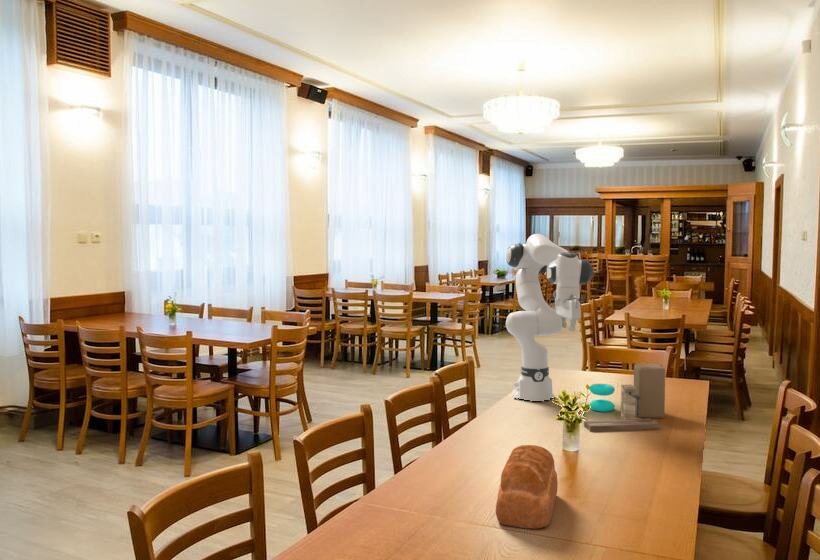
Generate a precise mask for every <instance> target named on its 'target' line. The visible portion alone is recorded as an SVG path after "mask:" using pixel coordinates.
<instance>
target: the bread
mask: <svg viewBox="0 0 820 560" xmlns="http://www.w3.org/2000/svg"><path fill="white" fill-rule="evenodd" d="M555 468H556V465H555V460H554V457H553V454H552V453H551V451H549V450H548V449H546V448H545V447H542V446H540V445H539V446H538V445H534V444H526V445H525V444H521V445H519V446H517V447H515V448H513V450H512V451H511V453H510V454H509V456H508V459H507V460H506V462H505V465H504V467H503V469H502V471H501V475H500V484H499V487H498V490H497V491H498V492H497V499H496V504H495V516H496V519H497V521H498V522H499V523H501V524H502V525H503V526H507V527H515V528H521V529H536V530H537V529H541V528H546V527H548V525H549V524H550V523H551V520H552V516H553V514H554V510H555V504H556V499H557V494H558V483H559V481H558V473H557V471H556V469H555Z"/></svg>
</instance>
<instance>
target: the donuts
mask: <svg viewBox="0 0 820 560" xmlns="http://www.w3.org/2000/svg"><path fill="white" fill-rule="evenodd" d="M589 391H590V392H591V393H592V394H593V395H595V396H596V395H597V396H602V397H603V396H610V395H613V394H614V393H615V391H616V388H615V387H614V386H613V385H611V384H608V383H594V384H591V385H590V386H589ZM589 405H590V406H591V408H590V409H591V410H593V411H595V412H599V413H600V412H601V413H604V412H605V413H607V412H612V411H614V409H615V403H614V402H612V401H611V400H608V399H600V398H599V399H594V400H592V401H590V403H589ZM590 406H589V407H590Z"/></svg>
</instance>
